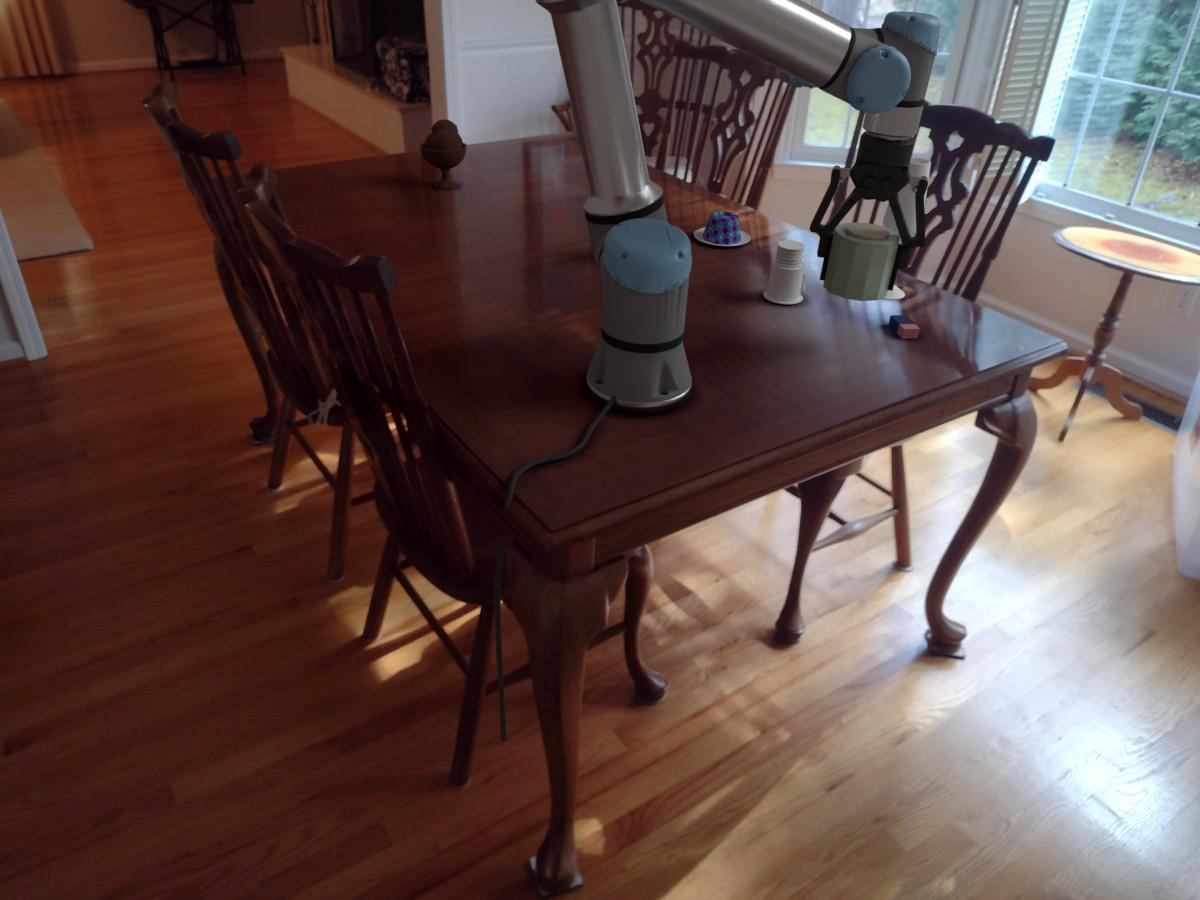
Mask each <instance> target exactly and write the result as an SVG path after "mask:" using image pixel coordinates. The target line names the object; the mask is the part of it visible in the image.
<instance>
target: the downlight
mask: <svg viewBox="0 0 1200 900" xmlns="http://www.w3.org/2000/svg"><path fill="white" fill-rule="evenodd" d="M804 252H805V244H804V243H803V242H800V241H797V240H789V239H785V240H780V241H778V242H777V247H776V255H775V258H773V259H772V260H771V264H770V271H769V275H768V273H765V274H764V278H763V279H764V280H763V282H764V288H765V290H764V292H763V298H764V299H766V300H767V301H769V302H771V303H774V304H779V305H797V304H799V303H801V302H803V300H804V296H803V295H802V294H801V291H803V292H806V287H807V279H806V271H805V267H806V264H805V262H803V259H804ZM768 276H769V278H768ZM767 281H768V283H767Z"/></svg>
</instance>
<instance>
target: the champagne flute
mask: <svg viewBox="0 0 1200 900" xmlns="http://www.w3.org/2000/svg"><path fill="white" fill-rule="evenodd" d="M931 165H932V161H931V160H930V159H929V158H928V159H927V158H924V157H918V156H911V161H910V165H909V173H910V175H911V176H916V177H922V176H926V177H927V178H928V181H929V180H930V173H931ZM927 193H928V188H927V189H926V192H925V195H924V209H925V207H926V201H927ZM898 197H899V200H900V204H901V207H902V210H903V214H904V217H905V220H906V223H907V226H908V230H909V233H910V236H911V237H915V236H916V207H915V193H914V192H912V190H911V185H910V184H907V185H906V186H905V187H904V188H903V189H902V190H900V191H899V192H898ZM882 226H883V227H886V228H889V229H891V230H893V231H895V232H896V233H898V235H899V232H898V229H897V225H896V222H895V219H894V216H893V213H892V210H891V208H890V205H889V202H888V204H887V206H886V210H885V213H884V216H883V219H882ZM899 237H900V235H899ZM899 244H902V241H901V238H900V239H899ZM905 296H906V293H905V292H904V291H903V290H902V289H901V288H900V287H898V286H897V285H896V284H894V287H893V291H890V290H887V295H886V296H885V297H883V298H882V299H884V300H900V299H904V298H905Z"/></svg>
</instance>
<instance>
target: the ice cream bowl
mask: <svg viewBox="0 0 1200 900" xmlns="http://www.w3.org/2000/svg"><path fill="white" fill-rule="evenodd" d="M419 150H420V153H421V156H422V157H423V159H424V160H425V161H426V162H427V163H428V164H429V165H430V166H431V167H434V168H435V169H439V170H440V172H441V179H439V180H437V181H436V182H435V184H434V188H435V189H438V190H444V191H446V190H454V189H456V188H458V184H457V182H455V181H454V180H452V179H451V178H450V173H449V172H450V170H451V169H453V168H456V167H457V166H459V165H460V164H461V163H462V162H463V160H464V159H465V157H466V154H467V143H465V142H463V138H462V136H461V135H460V133H459V129H458V126H457V124H456V123H454V122H453V121H452V120H449V119H438V120H437V121H436V122H435V123H434V124H433V125H432V126H431V132H430V133H429V134H428V135H427V136H426V138H425V140H424V142H422V143H420V146H419Z"/></svg>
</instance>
